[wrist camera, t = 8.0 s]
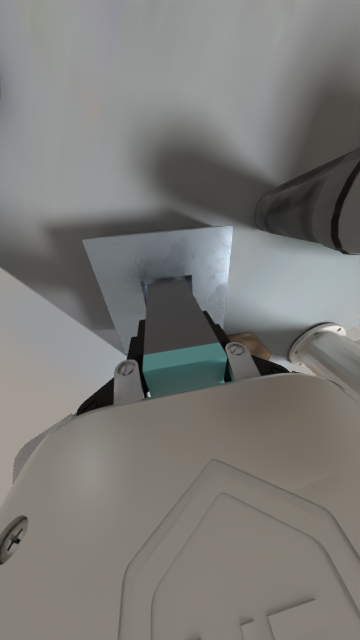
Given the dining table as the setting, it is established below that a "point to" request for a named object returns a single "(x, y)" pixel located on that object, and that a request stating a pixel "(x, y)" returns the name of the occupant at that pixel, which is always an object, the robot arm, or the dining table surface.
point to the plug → (179, 342)
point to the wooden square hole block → (251, 344)
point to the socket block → (160, 270)
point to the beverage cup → (318, 206)
